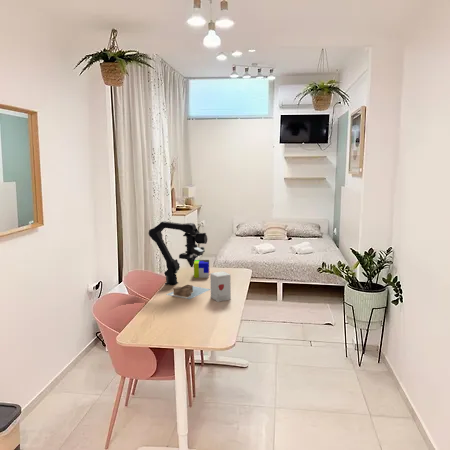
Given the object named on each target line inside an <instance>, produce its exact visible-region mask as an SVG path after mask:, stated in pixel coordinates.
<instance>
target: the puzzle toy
mask: <svg viewBox="0 0 450 450" xmlns="http://www.w3.org/2000/svg"><path fill="white" fill-rule="evenodd" d="M193 277H194V278H195V279H196V278H197V279H198V278H200V279H201V278H210V260H209V259H195V261H194V264H193Z"/></svg>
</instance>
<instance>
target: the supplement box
mask: <svg viewBox="0 0 450 450" xmlns="http://www.w3.org/2000/svg"><path fill="white" fill-rule="evenodd" d="M209 278H210V279H209V281H210V289H211V290H210V299H212V300H214V301H216V302H217V303H219V302H223V301H224V302H225V301H228V300H231V299H232V297H231V296H232V295H231V294H232V293H231V291H232V290H231V288H232V287H231V283H232V282H231V273H228V272H226V271H217V272H209Z"/></svg>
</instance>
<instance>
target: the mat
mask: <svg viewBox="0 0 450 450" xmlns="http://www.w3.org/2000/svg"><path fill="white" fill-rule="evenodd" d="M192 286H193V292H191V296H188V297H183V296H178V295H174V292H173V291H171V292H169V293H166V296H172V297H176V298H180V299H181V298H182V299H187V300H192V299H193V298H196V297H198V296H200V295H201V294H204V293H206V292H209V291H211V288H206V287H200V286H194V285H192Z"/></svg>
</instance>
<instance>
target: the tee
mask: <svg viewBox="0 0 450 450" xmlns="http://www.w3.org/2000/svg"><path fill="white" fill-rule="evenodd" d="M193 286H194V285H192V284H185V285H183V286H175V287H173V291H172V292H174V295H178V296H183V297H188V296H191V292H193Z"/></svg>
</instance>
